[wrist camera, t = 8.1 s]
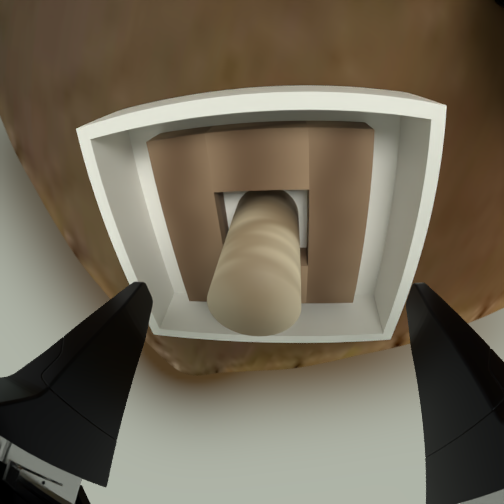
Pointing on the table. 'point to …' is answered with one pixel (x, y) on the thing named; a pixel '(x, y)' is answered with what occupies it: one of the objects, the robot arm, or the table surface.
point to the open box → (283, 109)
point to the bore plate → (268, 178)
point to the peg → (259, 267)
